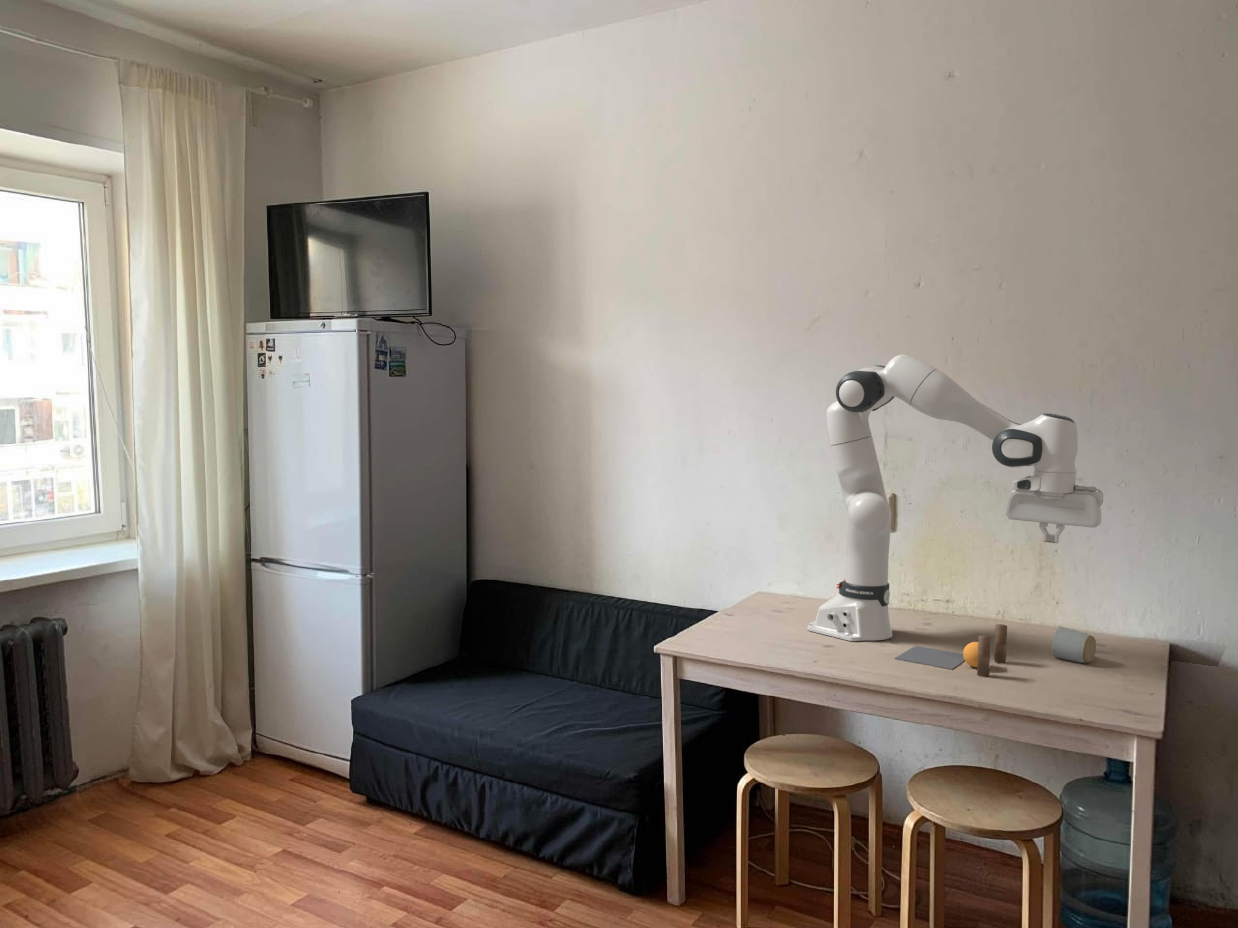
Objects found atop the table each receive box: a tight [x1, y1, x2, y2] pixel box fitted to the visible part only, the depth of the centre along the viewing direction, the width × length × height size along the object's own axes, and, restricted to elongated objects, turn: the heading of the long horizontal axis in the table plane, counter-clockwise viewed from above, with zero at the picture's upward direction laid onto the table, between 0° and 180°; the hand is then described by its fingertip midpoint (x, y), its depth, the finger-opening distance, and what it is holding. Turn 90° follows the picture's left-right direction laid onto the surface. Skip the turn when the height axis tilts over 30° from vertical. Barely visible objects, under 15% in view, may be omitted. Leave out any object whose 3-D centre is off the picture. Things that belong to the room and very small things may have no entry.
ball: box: [962, 641, 978, 669], centre depth 221 cm, size 6×6×6 cm
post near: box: [976, 635, 991, 678], centre depth 215 cm, size 3×3×9 cm
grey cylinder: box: [1051, 626, 1097, 664], centre depth 228 cm, size 11×8×8 cm
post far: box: [993, 623, 1008, 664], centre depth 225 cm, size 3×3×9 cm
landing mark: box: [894, 645, 966, 670], centre depth 229 cm, size 14×14×1 cm
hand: (1051, 542), depth 217 cm, fingers closed
